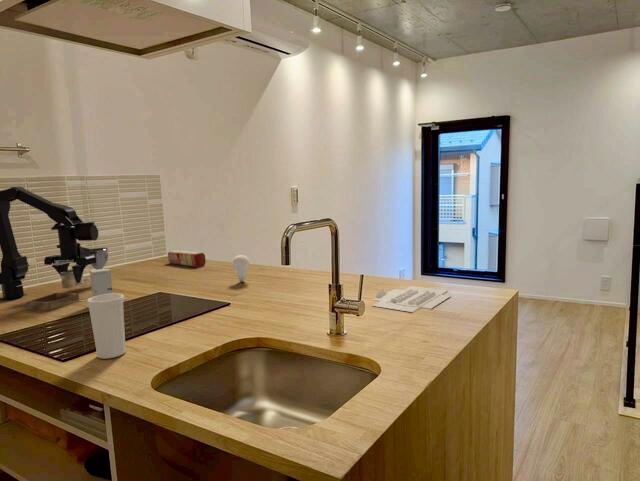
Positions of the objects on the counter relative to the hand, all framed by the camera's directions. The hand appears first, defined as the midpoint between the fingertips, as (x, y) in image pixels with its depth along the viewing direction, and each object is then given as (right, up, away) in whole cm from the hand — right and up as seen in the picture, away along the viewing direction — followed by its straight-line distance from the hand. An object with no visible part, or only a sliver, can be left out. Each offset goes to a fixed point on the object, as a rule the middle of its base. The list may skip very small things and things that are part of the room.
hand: (72, 282), depth 168 cm
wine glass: (+3, -3, +15) cm, 16 cm away
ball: (-6, -2, +17) cm, 18 cm away
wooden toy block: (0, -2, 0) cm, 2 cm away
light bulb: (+61, -1, +12) cm, 62 cm away
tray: (+122, -4, -20) cm, 124 cm away
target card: (+6, -5, -3) cm, 9 cm away
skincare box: (+18, -6, -13) cm, 23 cm away
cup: (+42, -12, -59) cm, 73 cm away
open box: (0, -7, -11) cm, 13 cm away
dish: (-6, -3, +17) cm, 18 cm away
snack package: (+26, +3, +54) cm, 60 cm away
